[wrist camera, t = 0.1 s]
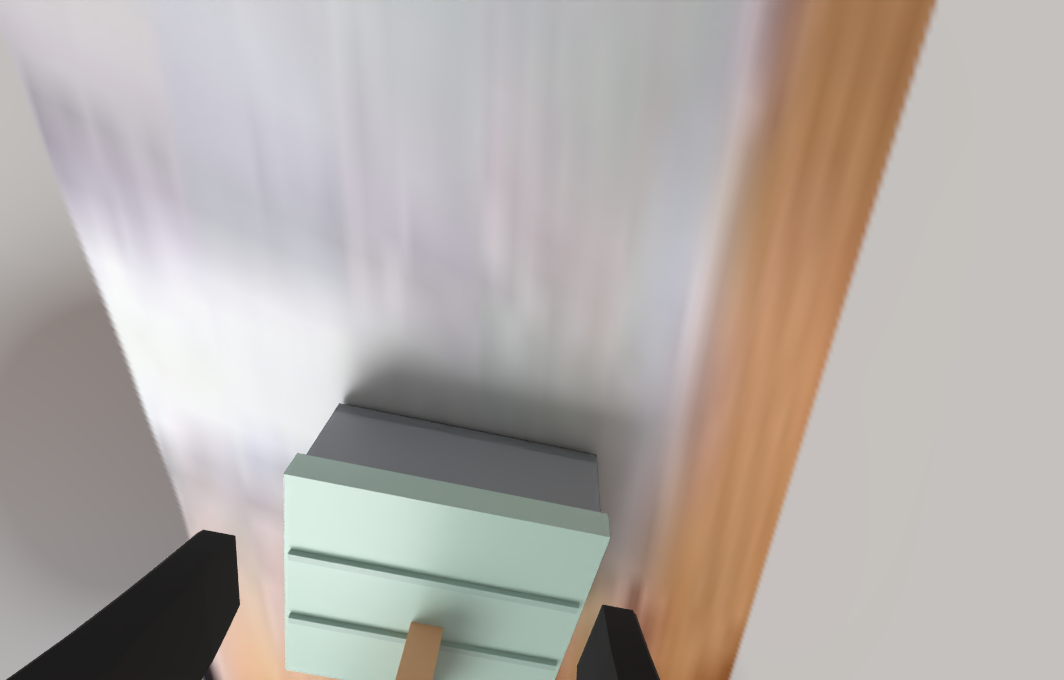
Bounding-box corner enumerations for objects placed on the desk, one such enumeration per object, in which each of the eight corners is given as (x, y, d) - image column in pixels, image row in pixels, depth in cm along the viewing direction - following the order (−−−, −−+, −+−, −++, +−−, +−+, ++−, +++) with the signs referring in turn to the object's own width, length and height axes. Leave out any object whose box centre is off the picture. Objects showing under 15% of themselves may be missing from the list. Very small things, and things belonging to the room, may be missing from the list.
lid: (542, 670, 24) (537, 804, 20) (304, 627, 23) (246, 755, 19) (606, 496, 19) (618, 624, 15) (307, 437, 18) (230, 552, 14)
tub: (541, 616, 26) (538, 686, 23) (330, 577, 25) (301, 643, 23) (596, 454, 21) (601, 517, 18) (339, 403, 21) (303, 459, 18)
